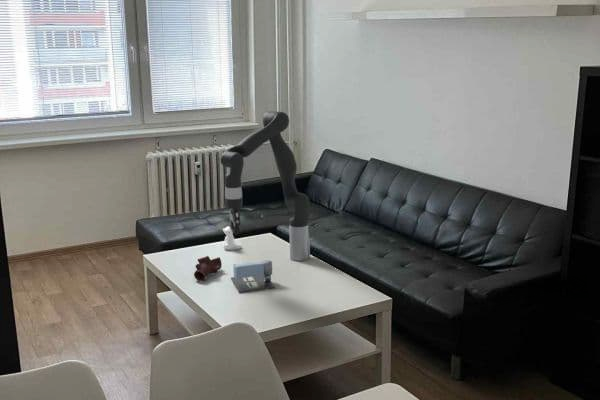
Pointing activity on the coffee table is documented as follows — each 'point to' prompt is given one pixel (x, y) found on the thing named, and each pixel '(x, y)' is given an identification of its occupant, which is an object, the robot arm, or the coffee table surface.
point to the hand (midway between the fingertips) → (235, 231)
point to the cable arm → (252, 269)
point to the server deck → (253, 283)
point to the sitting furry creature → (230, 240)
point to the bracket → (207, 267)
